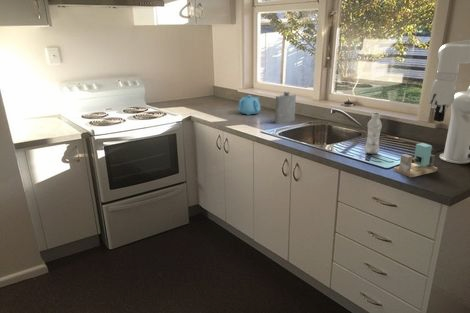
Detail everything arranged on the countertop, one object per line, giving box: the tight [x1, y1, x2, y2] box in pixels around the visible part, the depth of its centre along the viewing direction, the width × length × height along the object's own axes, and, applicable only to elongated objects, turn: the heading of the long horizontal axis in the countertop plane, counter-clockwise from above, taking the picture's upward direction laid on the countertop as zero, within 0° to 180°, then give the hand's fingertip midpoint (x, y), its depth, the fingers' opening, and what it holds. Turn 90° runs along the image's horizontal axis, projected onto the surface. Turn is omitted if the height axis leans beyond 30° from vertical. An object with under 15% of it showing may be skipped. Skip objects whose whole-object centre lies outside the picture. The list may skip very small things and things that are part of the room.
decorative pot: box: [237, 94, 261, 116], centre depth 267 cm, size 16×16×14 cm
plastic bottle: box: [364, 112, 383, 155], centre depth 178 cm, size 6×7×20 cm
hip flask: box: [274, 91, 297, 124], centre depth 241 cm, size 16×4×20 cm, turn 123°
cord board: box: [392, 153, 438, 178], centre depth 157 cm, size 16×9×8 cm, turn 116°
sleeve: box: [413, 142, 433, 166], centre depth 157 cm, size 4×5×9 cm
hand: (438, 120), depth 155 cm, fingers closed
